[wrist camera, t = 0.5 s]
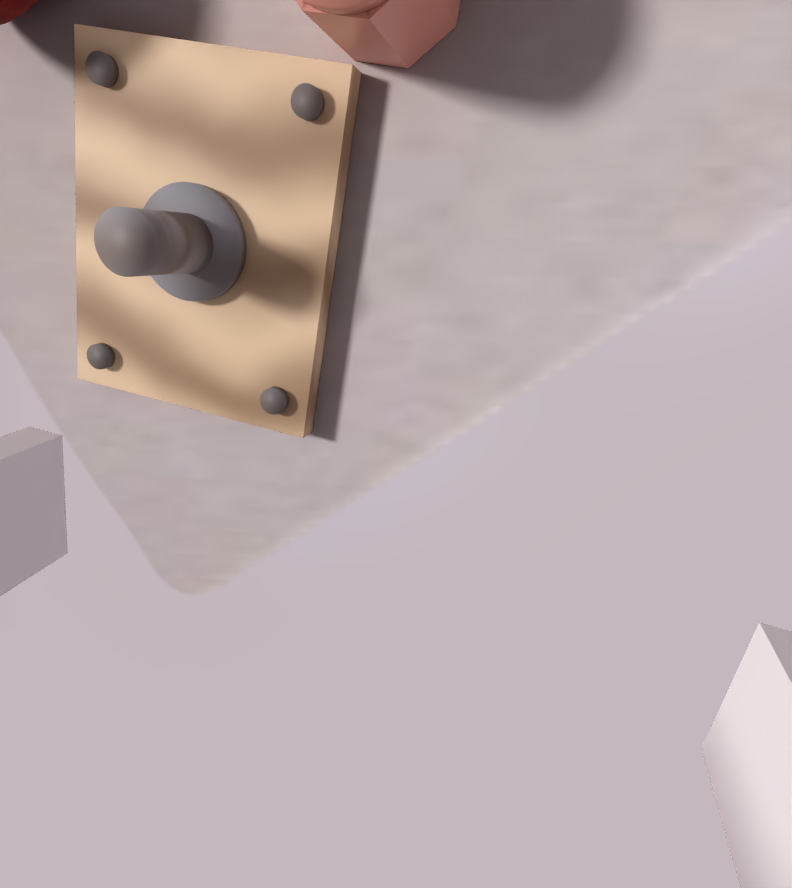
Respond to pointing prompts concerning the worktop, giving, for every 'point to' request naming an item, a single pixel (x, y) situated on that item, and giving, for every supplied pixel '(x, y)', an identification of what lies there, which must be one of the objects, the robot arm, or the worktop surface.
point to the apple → (14, 9)
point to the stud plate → (208, 221)
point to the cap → (384, 27)
